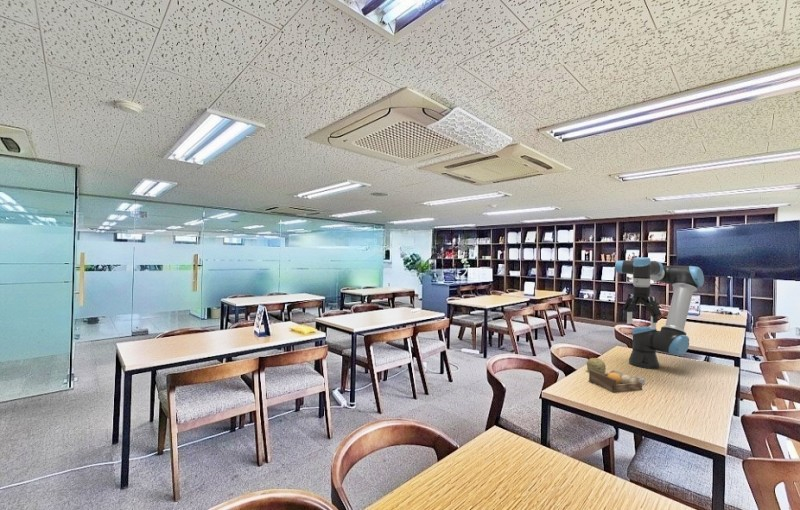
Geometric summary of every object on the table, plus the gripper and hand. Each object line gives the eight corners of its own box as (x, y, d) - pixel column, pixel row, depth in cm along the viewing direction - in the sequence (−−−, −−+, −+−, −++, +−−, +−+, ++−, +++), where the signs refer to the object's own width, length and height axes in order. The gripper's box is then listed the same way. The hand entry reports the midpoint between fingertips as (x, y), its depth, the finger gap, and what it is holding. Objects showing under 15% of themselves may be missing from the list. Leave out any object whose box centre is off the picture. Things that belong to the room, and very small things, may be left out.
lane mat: (615, 379, 185) (615, 378, 185) (642, 389, 170) (642, 389, 170) (589, 381, 180) (589, 380, 180) (614, 392, 166) (614, 391, 166)
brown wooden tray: (615, 379, 185) (615, 367, 185) (642, 389, 170) (642, 377, 170) (589, 381, 180) (589, 370, 180) (614, 392, 166) (614, 380, 166)
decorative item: (602, 382, 191) (613, 367, 191) (588, 371, 191) (599, 356, 191) (593, 376, 200) (603, 362, 200) (579, 365, 200) (590, 352, 200)
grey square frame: (637, 381, 181) (637, 376, 181) (644, 384, 178) (644, 379, 178) (632, 382, 180) (632, 377, 180) (638, 384, 177) (638, 379, 177)
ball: (609, 368, 178) (602, 377, 177) (619, 372, 172) (612, 381, 171) (615, 376, 179) (608, 385, 178) (625, 380, 173) (618, 389, 172)
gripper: (615, 284, 195) (615, 322, 196) (658, 288, 171) (658, 331, 171) (626, 284, 197) (625, 321, 197) (670, 288, 173) (670, 331, 173)
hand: (641, 326), depth 184 cm, fingers open, 13 cm apart
